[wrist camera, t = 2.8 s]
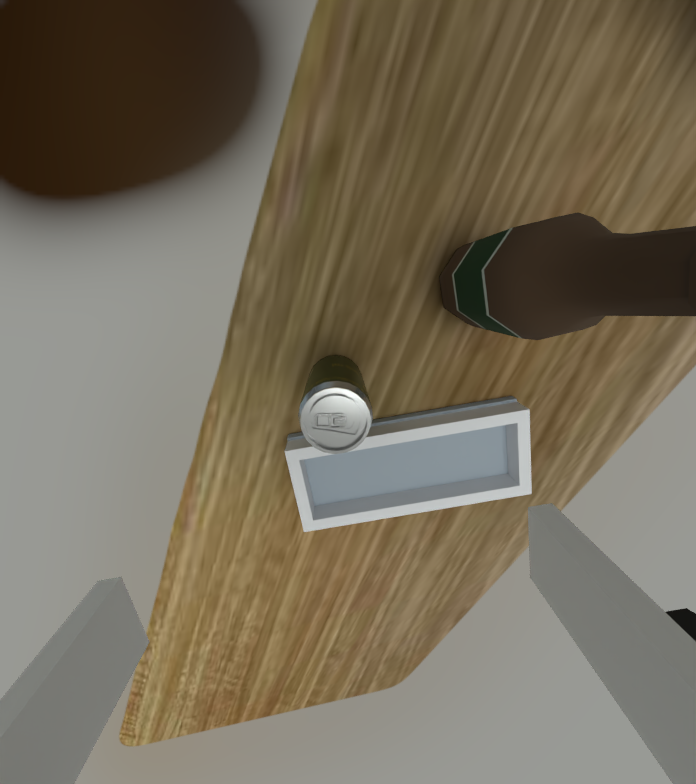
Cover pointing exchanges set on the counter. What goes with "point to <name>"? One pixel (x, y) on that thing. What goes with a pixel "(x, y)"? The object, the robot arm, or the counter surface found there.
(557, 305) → the beer bottle
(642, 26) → the counter surface
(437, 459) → the tray
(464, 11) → the counter surface
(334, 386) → the beer can
